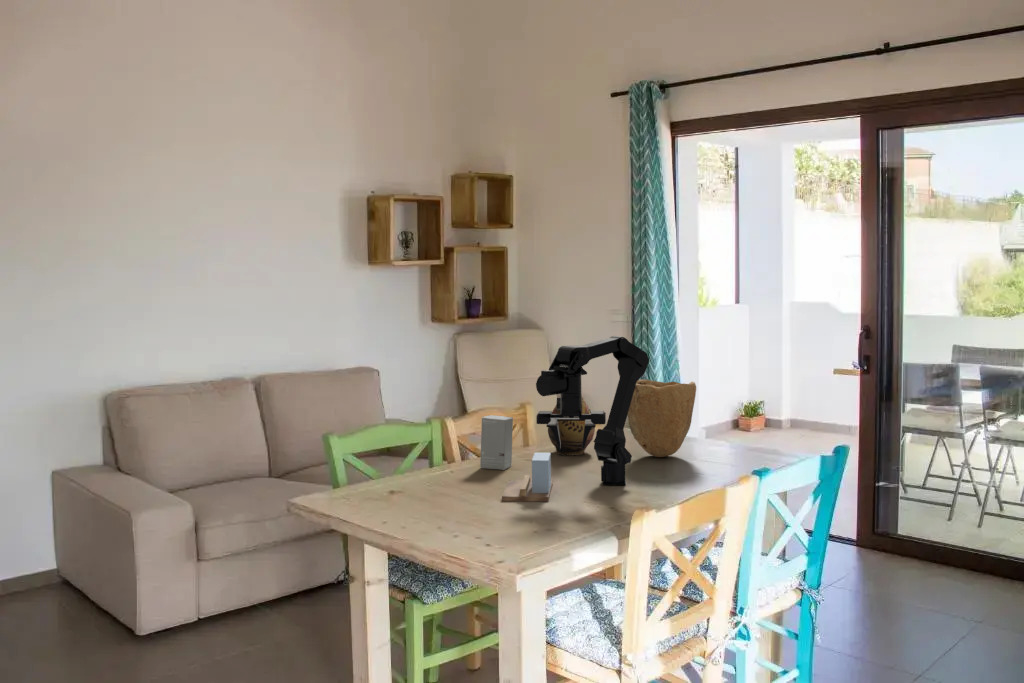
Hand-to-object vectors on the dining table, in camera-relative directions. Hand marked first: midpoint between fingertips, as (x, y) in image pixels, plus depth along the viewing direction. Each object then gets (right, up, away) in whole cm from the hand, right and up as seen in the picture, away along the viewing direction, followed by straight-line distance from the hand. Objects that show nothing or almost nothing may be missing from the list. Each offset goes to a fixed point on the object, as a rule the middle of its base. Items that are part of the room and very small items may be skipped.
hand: (571, 448), depth 268 cm
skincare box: (-21, -10, +34) cm, 41 cm away
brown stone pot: (+31, -8, +45) cm, 55 cm away
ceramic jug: (+3, -7, +55) cm, 55 cm away
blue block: (-8, -11, +2) cm, 14 cm away
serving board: (-12, -13, +2) cm, 17 cm away
